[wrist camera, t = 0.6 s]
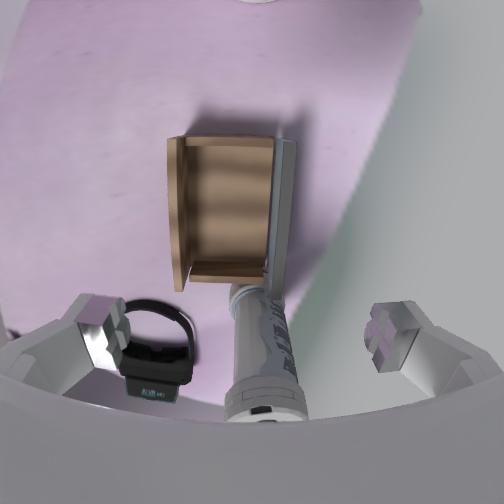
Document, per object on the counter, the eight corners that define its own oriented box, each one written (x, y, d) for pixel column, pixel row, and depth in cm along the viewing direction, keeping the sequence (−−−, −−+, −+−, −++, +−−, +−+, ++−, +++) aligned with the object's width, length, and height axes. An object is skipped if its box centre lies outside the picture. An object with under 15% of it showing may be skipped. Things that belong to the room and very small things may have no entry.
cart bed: (184, 135, 43) (167, 139, 33) (271, 136, 43) (280, 140, 33) (186, 258, 52) (174, 291, 42) (263, 261, 53) (268, 294, 43)
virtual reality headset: (125, 368, 64) (112, 393, 54) (113, 290, 58) (94, 310, 48) (196, 378, 65) (191, 406, 55) (195, 298, 59) (187, 322, 49)
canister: (278, 266, 53) (309, 403, 26) (284, 309, 58) (310, 442, 30) (224, 275, 54) (213, 415, 27) (235, 316, 58) (233, 451, 31)
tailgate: (275, 137, 41) (284, 141, 32) (285, 138, 41) (296, 142, 32) (266, 268, 50) (271, 300, 42) (274, 269, 50) (281, 300, 42)
